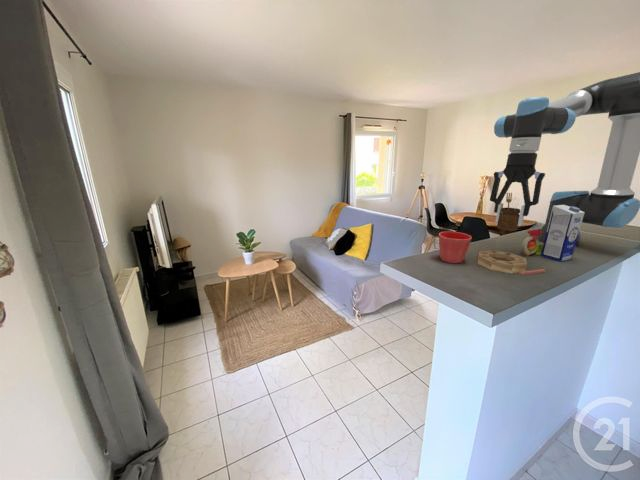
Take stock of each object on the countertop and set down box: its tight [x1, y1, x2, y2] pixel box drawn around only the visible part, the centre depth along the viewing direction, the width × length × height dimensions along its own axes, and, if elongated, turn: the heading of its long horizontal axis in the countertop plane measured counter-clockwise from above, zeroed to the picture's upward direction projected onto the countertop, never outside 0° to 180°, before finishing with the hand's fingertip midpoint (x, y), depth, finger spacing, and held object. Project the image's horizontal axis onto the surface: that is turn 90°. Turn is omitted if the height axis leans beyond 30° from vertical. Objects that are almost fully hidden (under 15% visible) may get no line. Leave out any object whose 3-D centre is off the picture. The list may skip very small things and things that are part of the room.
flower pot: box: [438, 230, 473, 264], centre depth 99 cm, size 11×11×10 cm
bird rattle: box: [521, 228, 544, 257], centre depth 104 cm, size 6×11×9 cm
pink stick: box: [518, 268, 547, 276], centre depth 88 cm, size 10×1×1 cm, turn 103°
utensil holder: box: [496, 192, 521, 232], centre depth 89 cm, size 6×6×12 cm
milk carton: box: [540, 205, 585, 263], centre depth 99 cm, size 7×7×20 cm
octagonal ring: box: [477, 249, 528, 274], centre depth 94 cm, size 14×14×3 cm
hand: (508, 223), depth 91 cm, fingers closed on utensil holder, 6 cm apart
